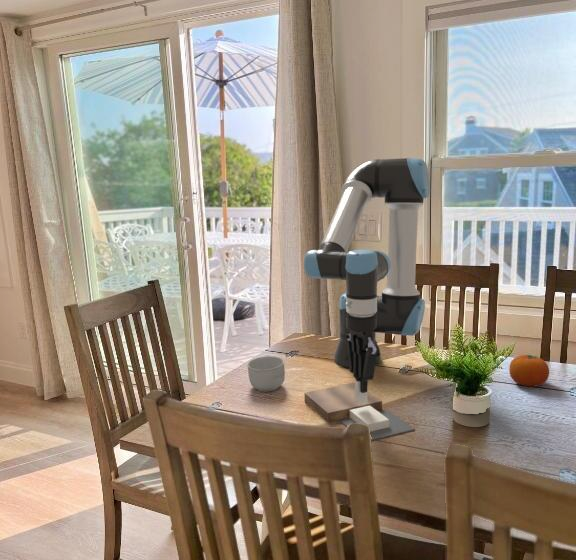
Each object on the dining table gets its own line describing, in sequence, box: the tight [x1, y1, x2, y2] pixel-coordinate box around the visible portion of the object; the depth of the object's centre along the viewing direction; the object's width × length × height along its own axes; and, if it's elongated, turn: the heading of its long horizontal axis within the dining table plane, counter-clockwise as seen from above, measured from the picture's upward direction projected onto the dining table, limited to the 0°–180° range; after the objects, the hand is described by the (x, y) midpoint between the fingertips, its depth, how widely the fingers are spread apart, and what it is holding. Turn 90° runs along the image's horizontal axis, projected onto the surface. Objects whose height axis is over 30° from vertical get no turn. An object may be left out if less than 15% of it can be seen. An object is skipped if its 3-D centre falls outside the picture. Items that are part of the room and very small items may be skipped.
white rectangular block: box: [349, 406, 389, 432], centre depth 139 cm, size 6×9×2 cm, turn 23°
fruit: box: [508, 354, 550, 387], centre depth 160 cm, size 11×10×8 cm
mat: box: [339, 409, 416, 442], centre depth 138 cm, size 14×12×1 cm
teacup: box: [246, 354, 286, 393], centre depth 164 cm, size 14×11×8 cm
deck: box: [303, 382, 383, 423], centre depth 150 cm, size 16×14×2 cm
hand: (361, 402), depth 142 cm, fingers closed
